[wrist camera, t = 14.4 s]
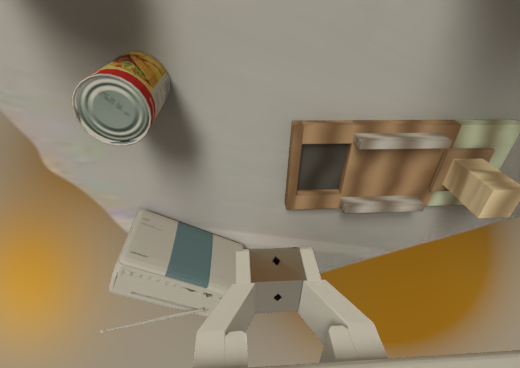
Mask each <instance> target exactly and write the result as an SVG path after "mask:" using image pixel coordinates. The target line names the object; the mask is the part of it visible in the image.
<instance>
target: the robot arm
mask: <svg viewBox="0 0 520 368" xmlns="http://www.w3.org/2000/svg"><path fill="white" fill-rule="evenodd" d="M297 311H298V313H299V314H300V316H301V317H302V318H303V319H304V321H305V322H306V323H307V325H308V326H309V327H310V328H311V330H312V331H313V332H314V333H315V335H316V336H317V337H318V339H319V340H320V341H321V342H322V344H323V345H324V348H323V352H322V355H321V359H320V362H319V363H312V364H296V365H282V366H266V367H251V368H520V350H514V351H499V352H483V353H468V354H452V355H438V356H421V357H405V358H390V359H388V357H387V354H386V352H385V350H384V347H383V345H382V343H381V340H380V337H379V335H378V333H377V330H376V328H375V325H374V323H373V322H372V321H371V320H370V319H368V318H367V317H366V316H365V315H364V314H363V313H362V312H361V311H360V310H359V309H357V308H356V307H355V306H354V305H353V304H352V303H351V302H350V301H348V300H347V299H346V298H345V297H344V296H343V295H342V294H341V293H340V292H338V291H337V290H336V289H335V288H334V287H333V286H332V285H331V284H329V283H328V282H327V281H326V280H322V279H321V276H320V272H319V269H318V266H317V262H316V259H315V256H314V252H313V249H312V248H311V247H292V248H273V249H236V284H232V285H231V286H230V288H229V289H228V290H227V292H226V293H225V295H224V296H223V297H222V299H221V300H220V301H219V303H218V304H217V306H216V307H215V308H214V310H213V311H212V312H211V314H210V315H209V317H208V318H207V320H206V321H205V322H204V323H203V325H202V326H201V328H200V329H199V330H198V332H197V338H196V347H195V356H194V365H193V368H248V357H247V335H246V334H245V333H246V331H247V329H248V327H249V325H250V323H251V321H252V319H253V317H254V315H255V314H257V313H270V312H297Z"/></svg>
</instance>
